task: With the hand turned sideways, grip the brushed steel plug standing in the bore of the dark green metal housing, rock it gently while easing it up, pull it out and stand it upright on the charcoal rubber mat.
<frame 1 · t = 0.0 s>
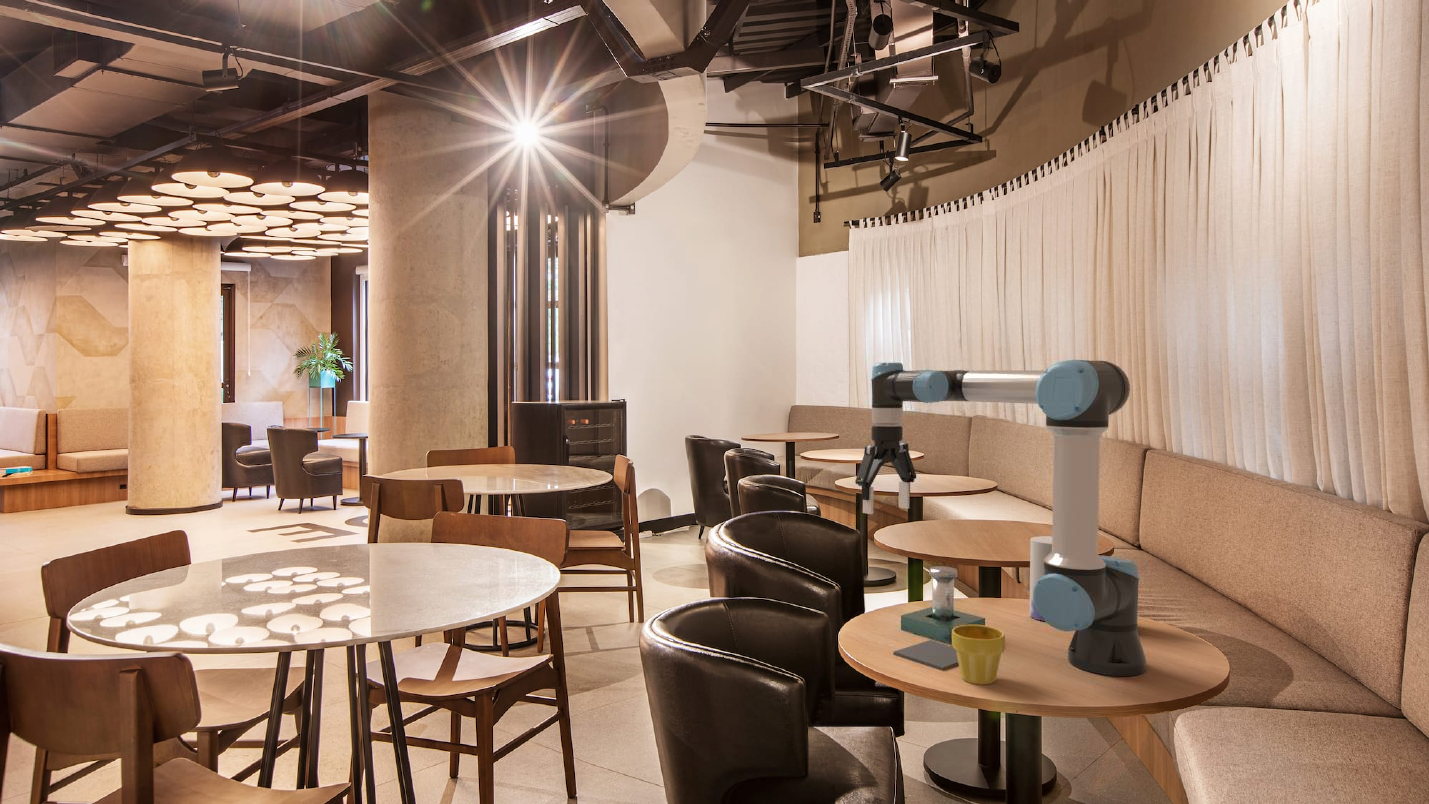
hand: (886, 510, 211), 28 cm above the table, tool pointing down, fingers open, 13 cm apart
plug: (943, 600, 205), in the housing
housing: (942, 631, 205), on the table
mat: (935, 655, 187), on the table
plant pot: (977, 680, 173), on the table
container: (1050, 618, 217), on the table
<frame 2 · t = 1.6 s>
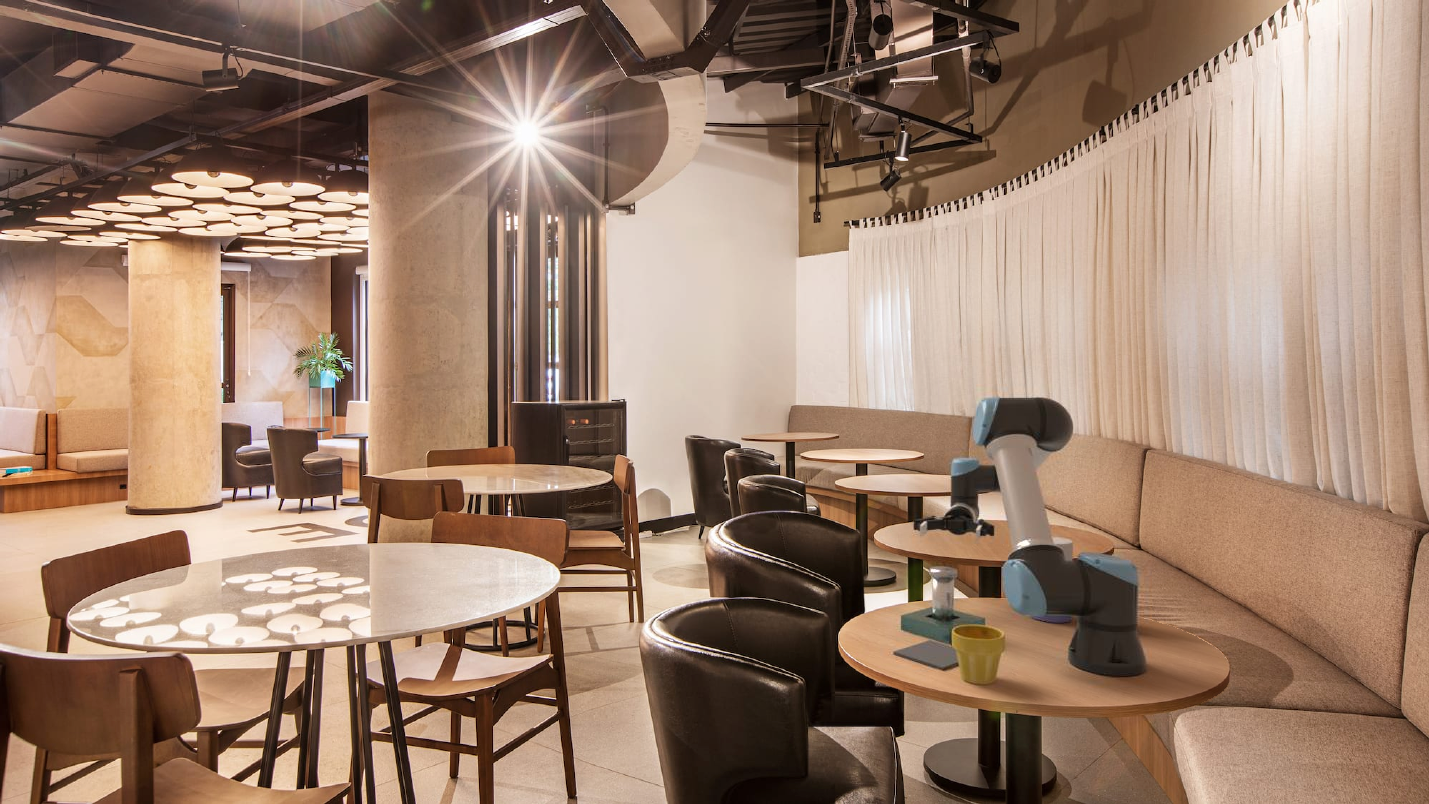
hand: (949, 533, 213), 22 cm above the table, tool horizontal, fingers open, 13 cm apart
nothing on the table moved.
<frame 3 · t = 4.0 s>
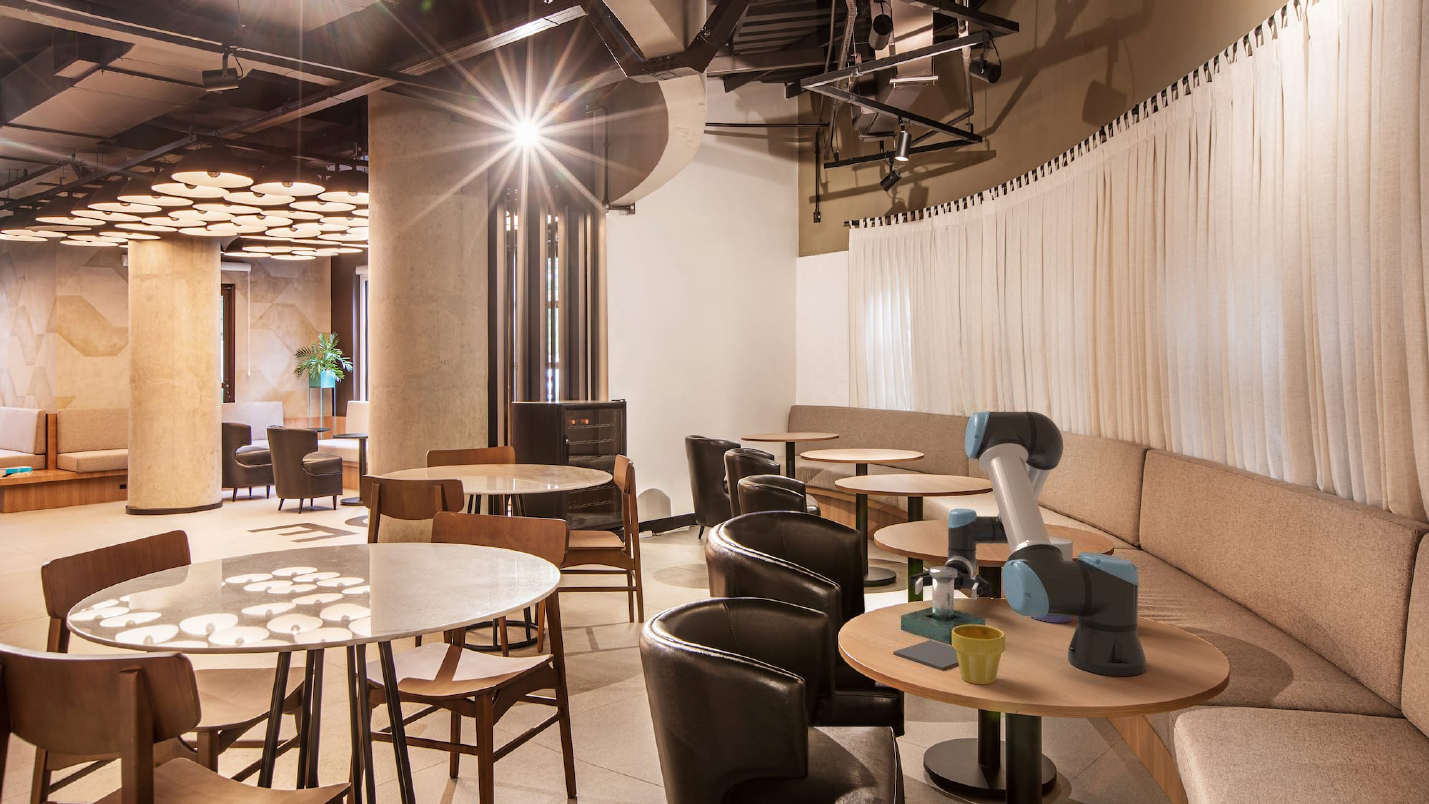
hand: (944, 591, 210), 8 cm above the table, tool horizontal, fingers open, 13 cm apart
nothing on the table moved.
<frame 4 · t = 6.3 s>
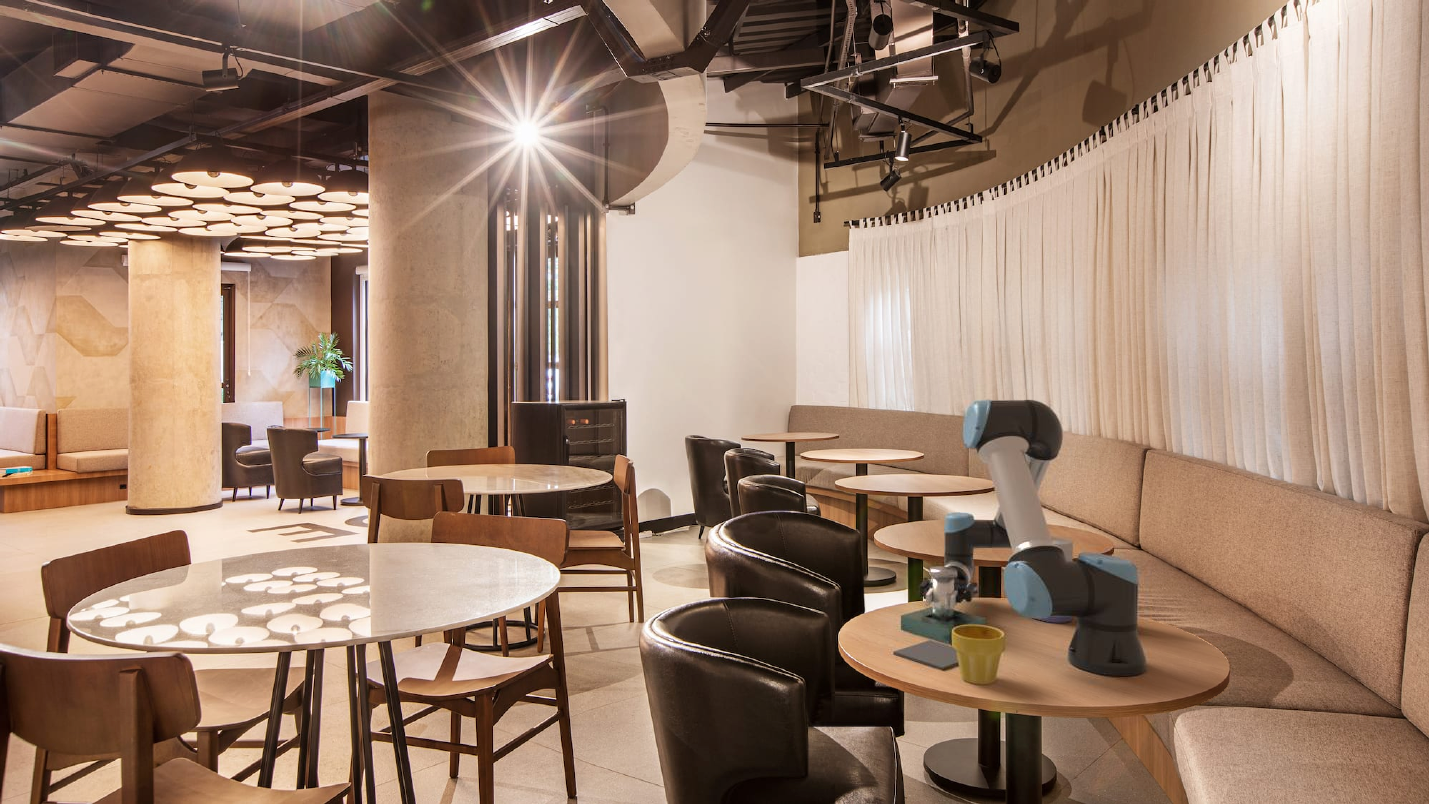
hand: (939, 601, 200), 9 cm above the table, tool horizontal, fingers closed on plug, 5 cm apart
plug: (943, 600, 205), in the housing, touching gripper
everything else where it was.
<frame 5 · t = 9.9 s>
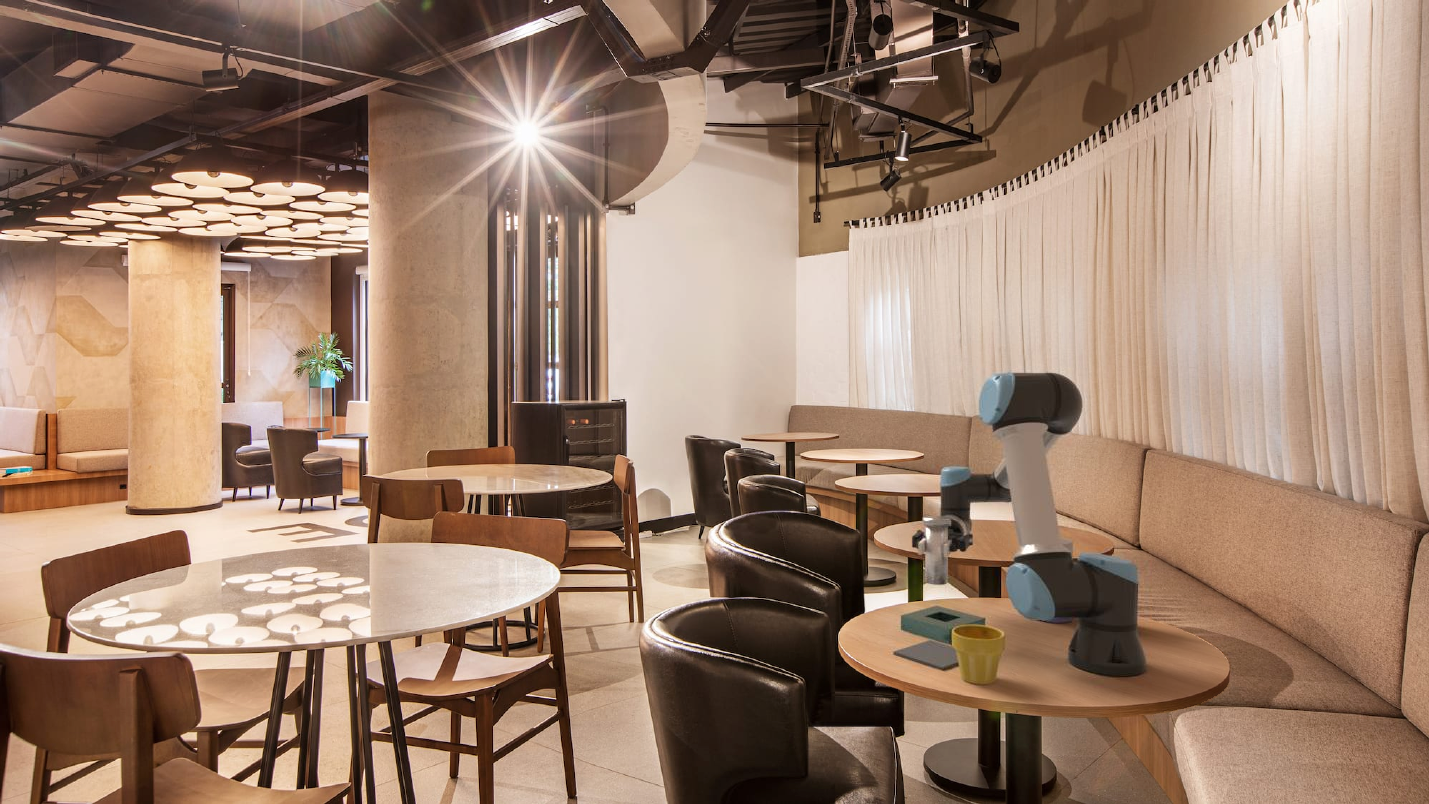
hand: (932, 550, 193), 22 cm above the table, tool horizontal, fingers closed on plug, 5 cm apart
plug: (936, 550, 198), point 21 cm above the table, touching gripper
everything else where it was.
when the fingers open (10 cm above the table, at t = 13.8 s): plug stays where it is, resting on mat.
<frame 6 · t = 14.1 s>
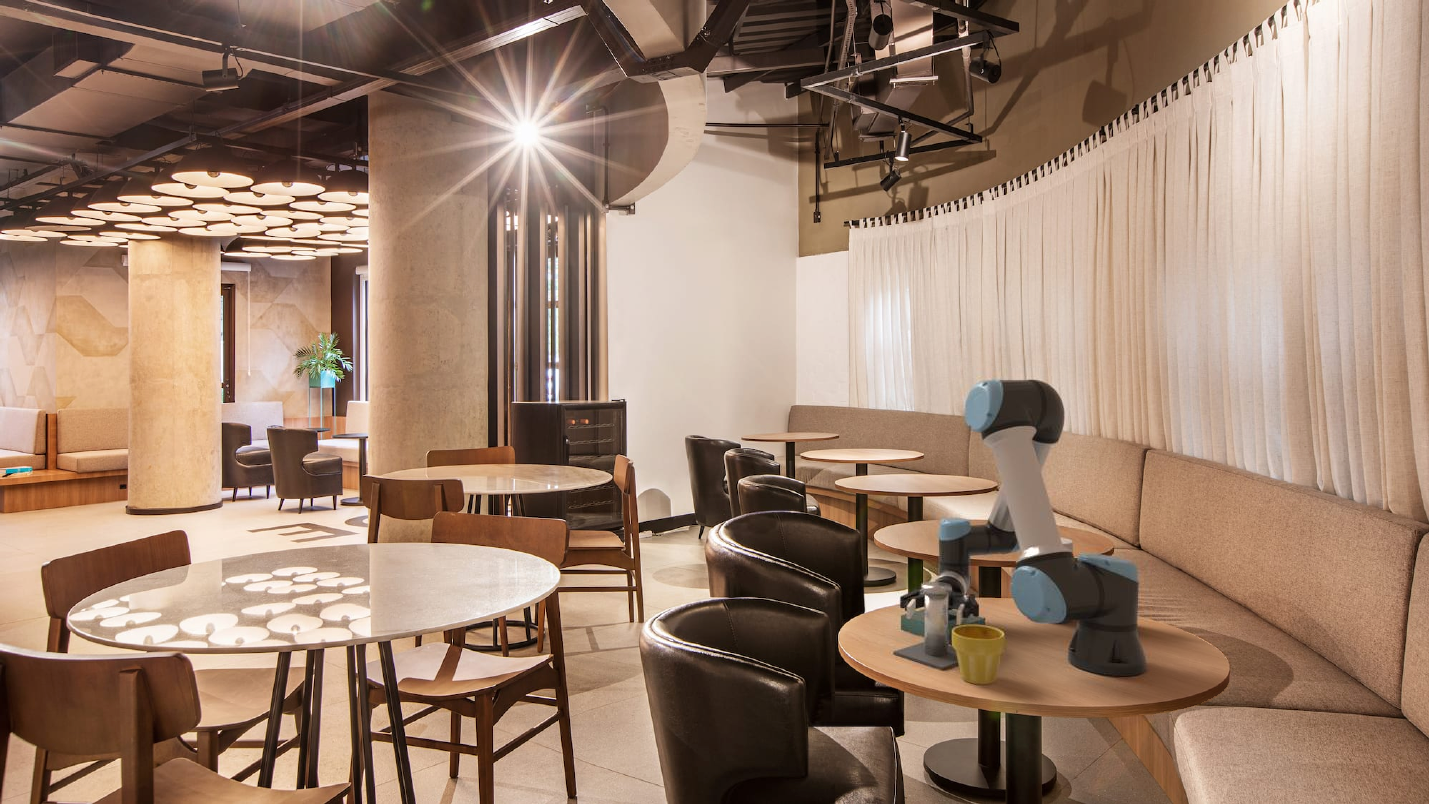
hand: (933, 615, 183), 10 cm above the table, tool horizontal, fingers open, 10 cm apart
plug: (936, 619, 187), on the mat, point 8 cm above the table
everything else where it was.
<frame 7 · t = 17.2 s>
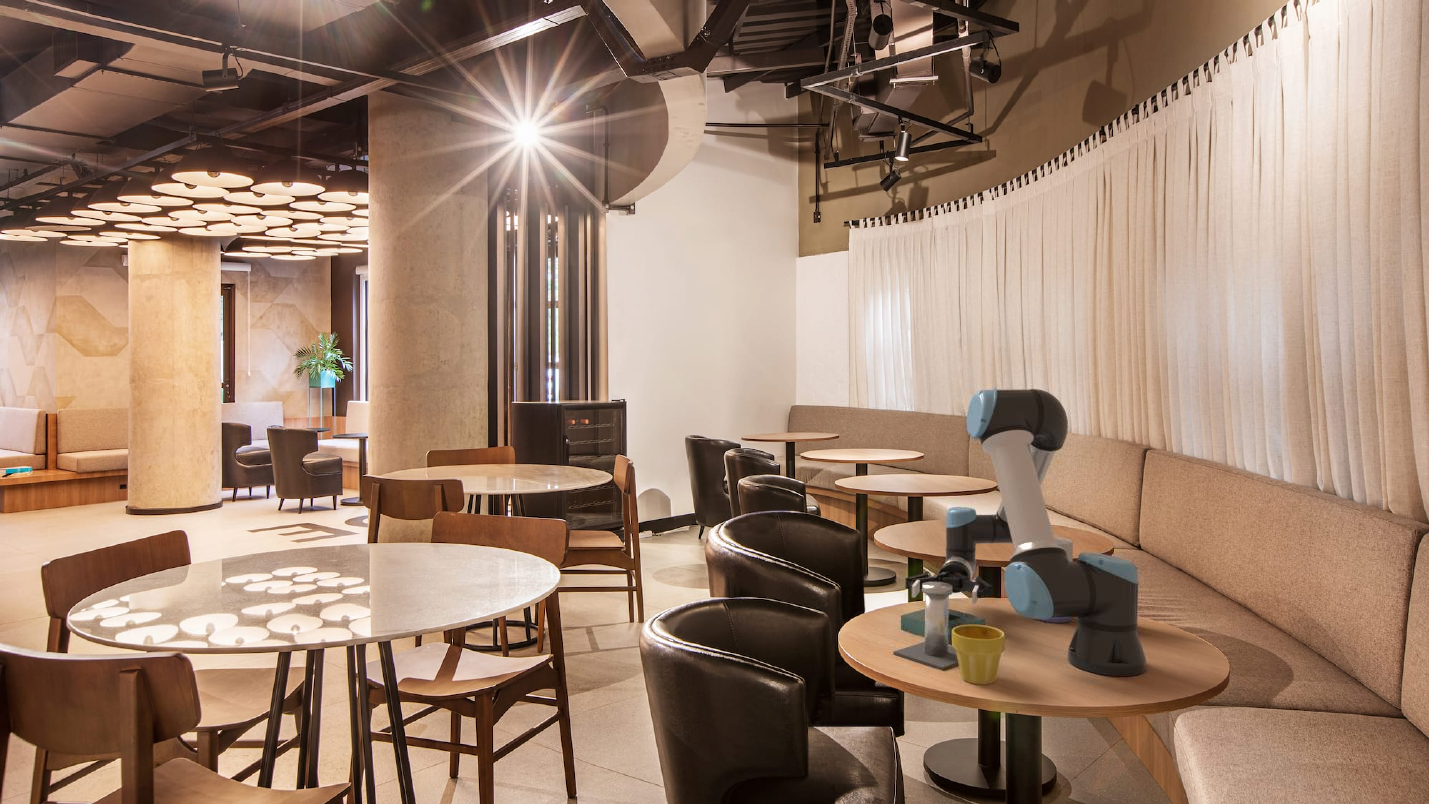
hand: (943, 594, 197), 11 cm above the table, tool horizontal, fingers open, 13 cm apart
nothing on the table moved.
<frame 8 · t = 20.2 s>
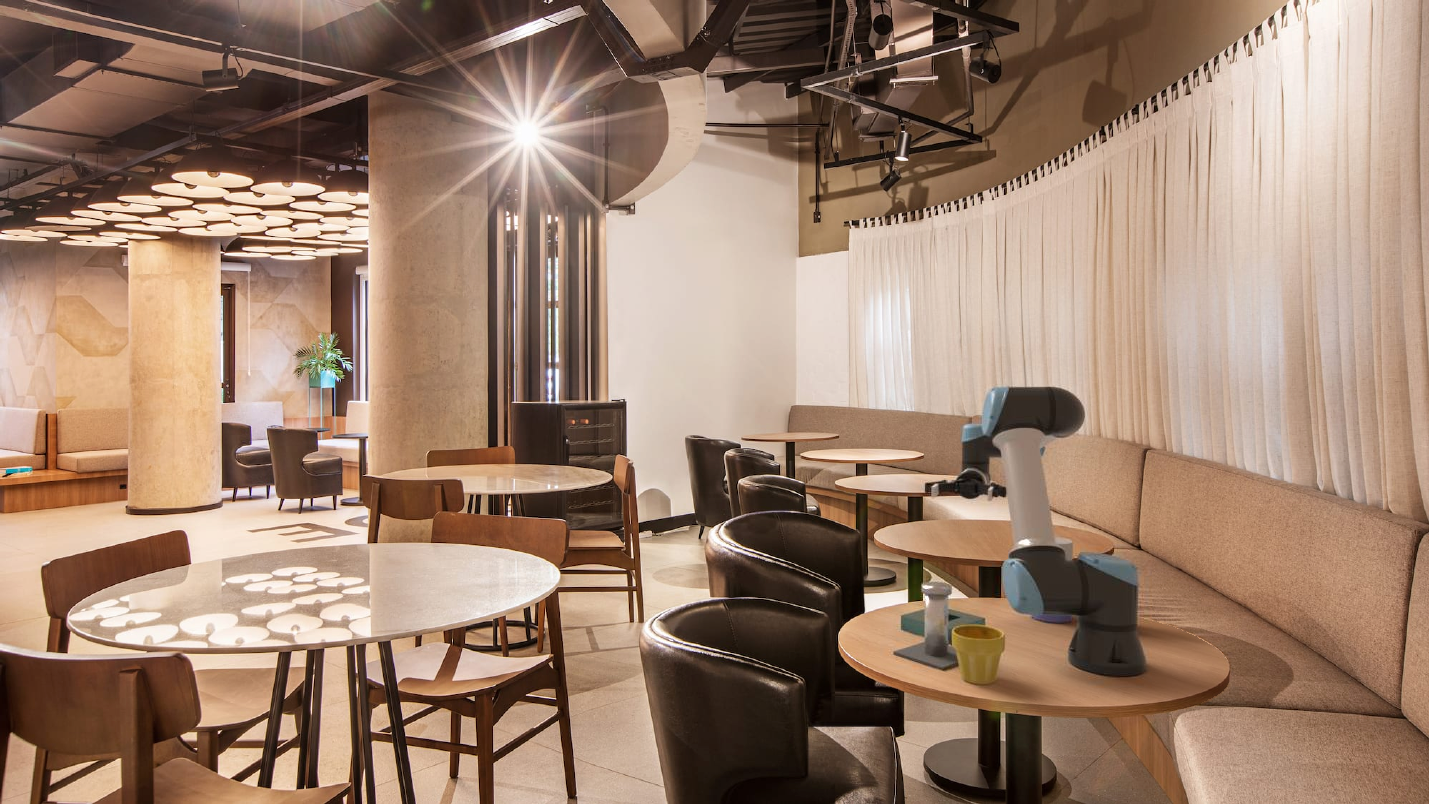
hand: (960, 493, 212), 32 cm above the table, tool horizontal, fingers open, 13 cm apart
nothing on the table moved.
at the end: plug inside the target area on the mat (0.1 cm from its centre), point 8.1 cm above the mat's base; plug tilted 1°; the gripper is holding nothing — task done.
